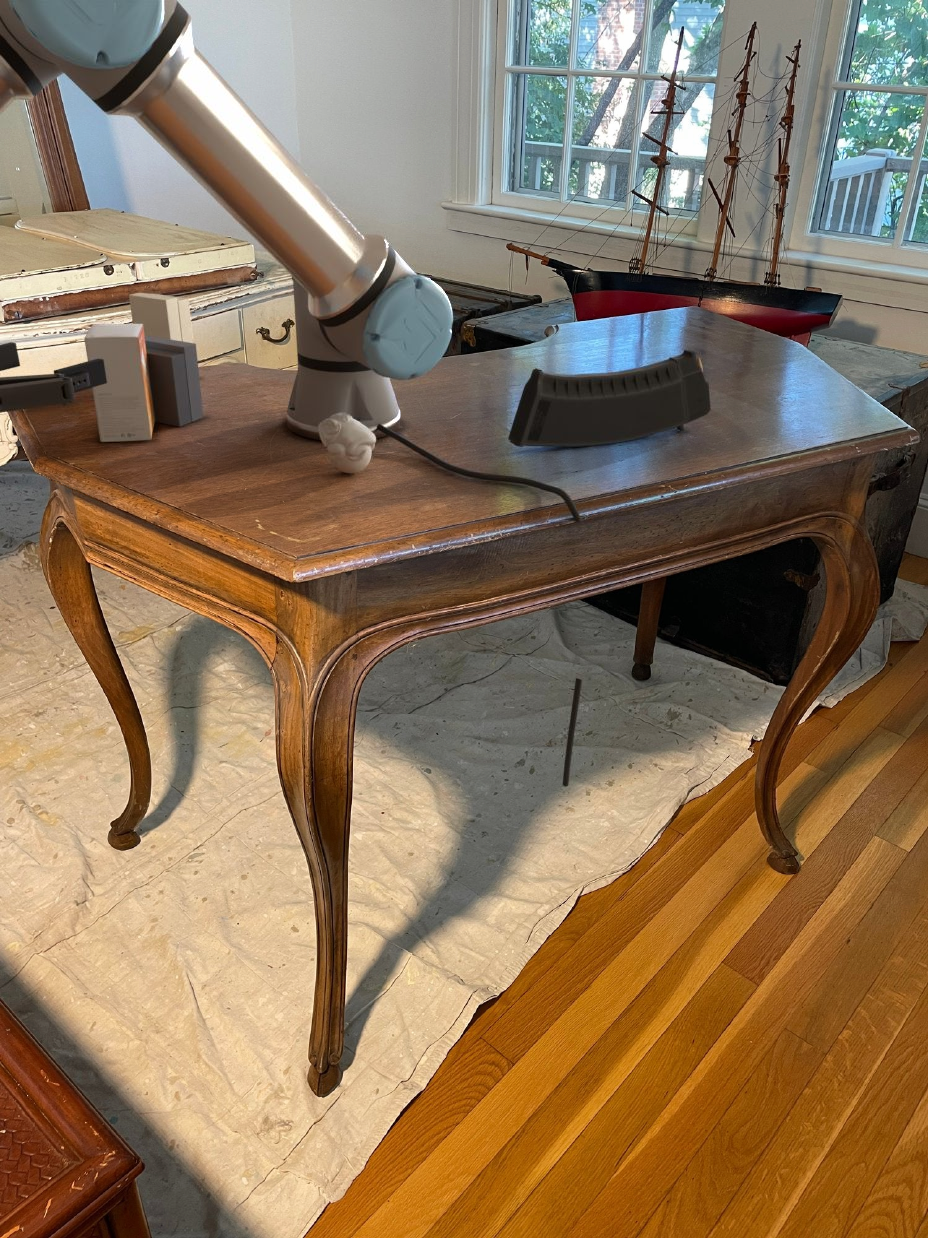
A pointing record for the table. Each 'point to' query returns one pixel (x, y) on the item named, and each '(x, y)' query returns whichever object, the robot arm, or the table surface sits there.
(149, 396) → the small box
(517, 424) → the magazine
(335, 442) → the plaster face bust
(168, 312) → the beige rectangular block
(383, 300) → the robot arm
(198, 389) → the grey books
